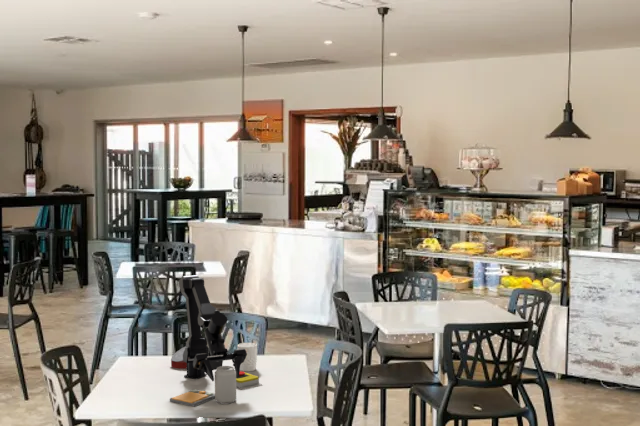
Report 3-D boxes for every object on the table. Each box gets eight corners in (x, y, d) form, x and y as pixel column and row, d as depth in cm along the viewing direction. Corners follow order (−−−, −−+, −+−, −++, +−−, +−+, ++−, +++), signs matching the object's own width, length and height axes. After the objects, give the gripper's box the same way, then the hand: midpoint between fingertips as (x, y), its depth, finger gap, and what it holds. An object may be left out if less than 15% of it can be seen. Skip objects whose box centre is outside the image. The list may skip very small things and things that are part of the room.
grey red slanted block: (193, 378, 335) (193, 360, 329) (168, 376, 335) (168, 357, 329) (198, 359, 344) (198, 341, 339) (174, 357, 344) (174, 339, 339)
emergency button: (239, 367, 320) (263, 374, 308) (240, 378, 320) (263, 386, 309) (220, 371, 313) (243, 379, 302) (220, 382, 314) (243, 391, 303)
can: (239, 399, 291) (239, 365, 290) (230, 405, 284) (230, 371, 283) (220, 397, 294) (220, 364, 293) (211, 403, 286) (210, 369, 286)
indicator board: (169, 401, 289) (169, 397, 288) (194, 392, 300) (194, 388, 299) (193, 406, 283) (193, 402, 283) (217, 396, 294) (217, 392, 294)
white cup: (261, 368, 332) (261, 344, 331) (249, 373, 326) (249, 348, 325) (245, 365, 336) (245, 341, 336) (233, 370, 330) (233, 345, 329)
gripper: (234, 351, 306) (245, 387, 297) (185, 356, 298) (195, 394, 289) (241, 334, 299) (253, 371, 290) (191, 339, 291) (202, 377, 282)
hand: (225, 379), depth 288 cm, fingers open, 9 cm apart
